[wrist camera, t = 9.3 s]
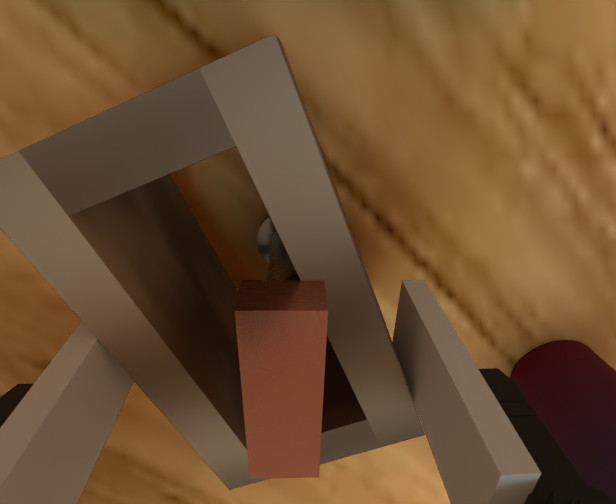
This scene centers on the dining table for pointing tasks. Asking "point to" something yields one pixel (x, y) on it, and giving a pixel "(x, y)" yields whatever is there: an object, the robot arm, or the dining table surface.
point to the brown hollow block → (204, 253)
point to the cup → (575, 406)
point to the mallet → (281, 364)
